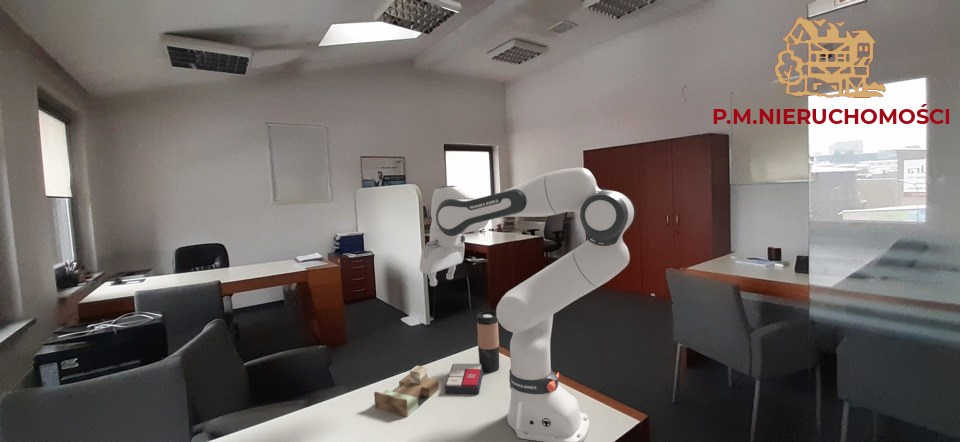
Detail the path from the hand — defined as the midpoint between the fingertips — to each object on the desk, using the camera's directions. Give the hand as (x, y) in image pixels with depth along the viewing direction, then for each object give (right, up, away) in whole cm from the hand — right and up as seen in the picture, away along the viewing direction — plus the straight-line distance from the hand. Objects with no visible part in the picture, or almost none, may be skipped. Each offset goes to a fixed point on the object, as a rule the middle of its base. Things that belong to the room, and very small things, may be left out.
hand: (441, 282), depth 121 cm
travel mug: (+15, -35, +21) cm, 44 cm away
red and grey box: (+7, -37, +11) cm, 39 cm away
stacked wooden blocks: (-11, -37, +3) cm, 39 cm away
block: (-8, -34, +8) cm, 36 cm away
